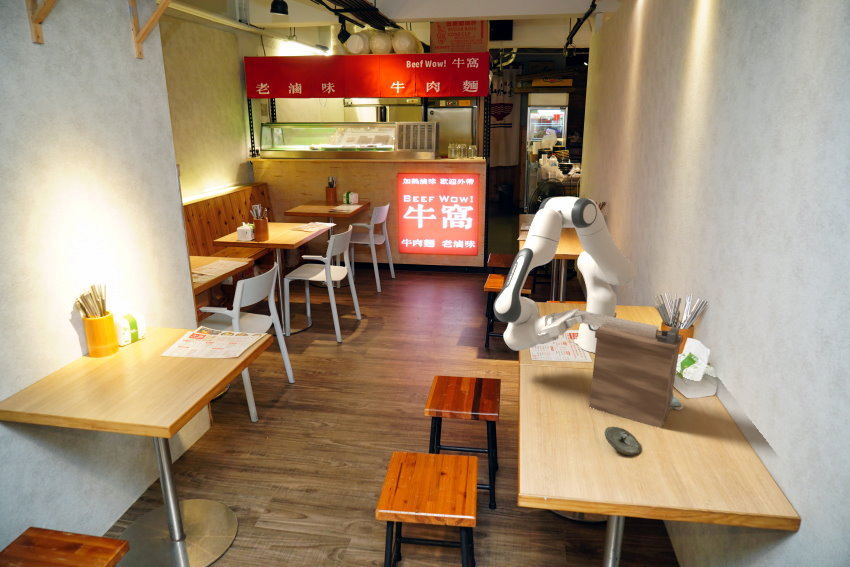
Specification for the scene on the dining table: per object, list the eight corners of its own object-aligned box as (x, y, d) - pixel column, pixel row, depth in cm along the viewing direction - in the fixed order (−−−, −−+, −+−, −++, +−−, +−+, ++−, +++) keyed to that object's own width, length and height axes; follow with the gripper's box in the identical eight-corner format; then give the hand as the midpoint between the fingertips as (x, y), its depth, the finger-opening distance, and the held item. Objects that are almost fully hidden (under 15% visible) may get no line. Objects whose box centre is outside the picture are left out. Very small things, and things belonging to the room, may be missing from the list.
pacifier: (680, 402, 191) (661, 399, 192) (683, 385, 189) (664, 382, 190) (685, 412, 184) (665, 410, 185) (688, 395, 182) (668, 392, 183)
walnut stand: (599, 392, 195) (608, 311, 187) (671, 412, 183) (684, 326, 175) (587, 407, 185) (596, 322, 177) (662, 429, 173) (676, 339, 165)
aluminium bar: (577, 318, 189) (578, 310, 188) (657, 335, 175) (658, 326, 175) (574, 321, 186) (575, 312, 185) (655, 338, 173) (656, 329, 172)
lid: (611, 433, 170) (613, 418, 169) (645, 445, 164) (647, 429, 163) (597, 448, 162) (599, 432, 161) (632, 461, 156) (634, 445, 155)
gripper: (531, 328, 185) (569, 315, 177) (555, 312, 202) (590, 299, 194) (539, 346, 185) (577, 334, 177) (562, 328, 202) (598, 316, 193)
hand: (584, 316), depth 185 cm, fingers open, 4 cm apart
